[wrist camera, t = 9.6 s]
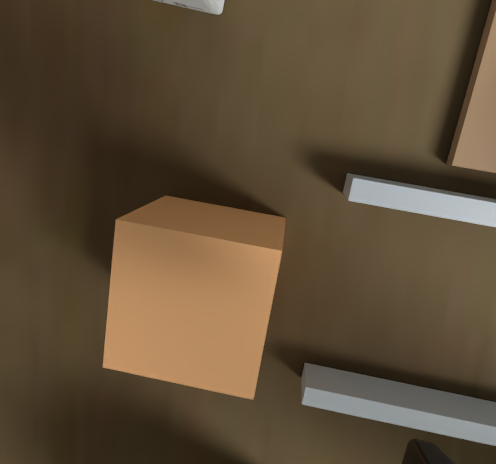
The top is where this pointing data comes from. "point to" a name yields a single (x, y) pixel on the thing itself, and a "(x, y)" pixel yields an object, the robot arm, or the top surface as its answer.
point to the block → (192, 293)
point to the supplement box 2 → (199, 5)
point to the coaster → (479, 108)
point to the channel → (391, 392)
